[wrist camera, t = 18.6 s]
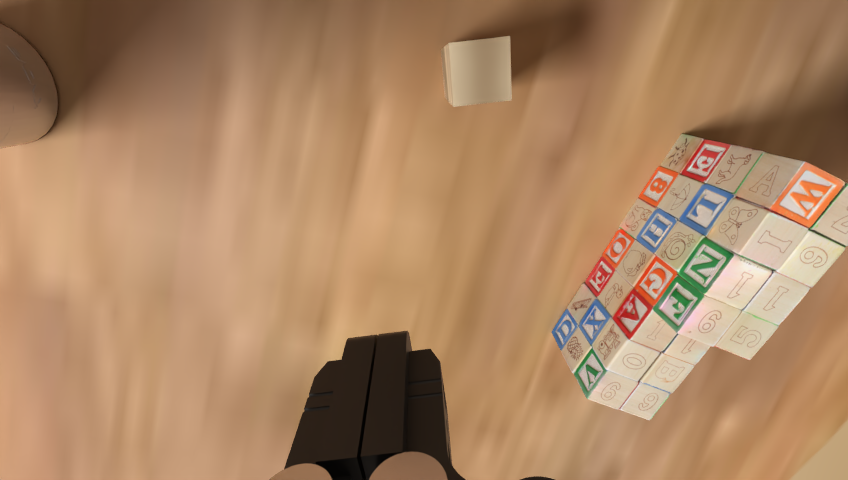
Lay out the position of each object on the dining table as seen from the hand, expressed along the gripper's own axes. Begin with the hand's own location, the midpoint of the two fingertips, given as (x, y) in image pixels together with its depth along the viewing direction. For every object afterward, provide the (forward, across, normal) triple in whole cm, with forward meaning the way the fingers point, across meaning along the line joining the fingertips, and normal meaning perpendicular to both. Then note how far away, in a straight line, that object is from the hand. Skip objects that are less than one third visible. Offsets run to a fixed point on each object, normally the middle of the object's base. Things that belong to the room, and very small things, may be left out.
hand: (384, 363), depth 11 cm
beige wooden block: (+26, -6, -6) cm, 27 cm away
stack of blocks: (+26, -20, +12) cm, 35 cm away
